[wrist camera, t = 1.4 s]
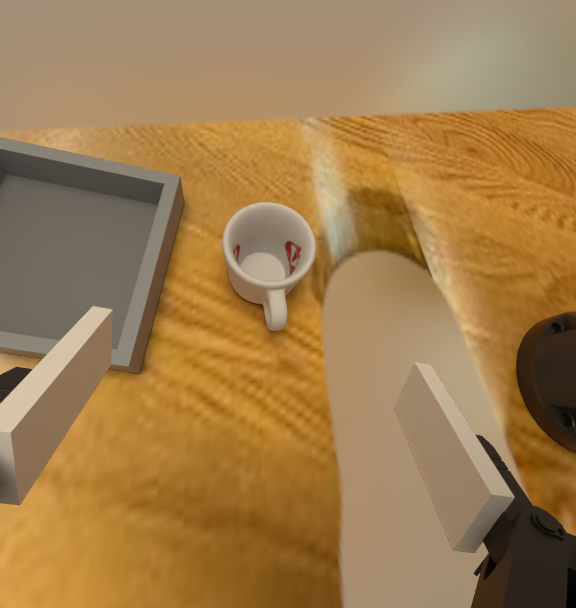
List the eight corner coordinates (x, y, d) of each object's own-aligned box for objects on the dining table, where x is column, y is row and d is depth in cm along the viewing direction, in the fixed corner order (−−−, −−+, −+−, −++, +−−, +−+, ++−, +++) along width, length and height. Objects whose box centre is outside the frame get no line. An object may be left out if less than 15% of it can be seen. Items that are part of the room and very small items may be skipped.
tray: (184, 202, 40) (180, 175, 36) (139, 373, 34) (128, 366, 30) (0, 163, 38) (-28, 131, 34) (-82, 340, 32) (-128, 327, 28)
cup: (310, 335, 38) (332, 313, 31) (231, 346, 36) (234, 326, 29) (291, 239, 41) (307, 198, 34) (217, 245, 39) (216, 203, 32)
